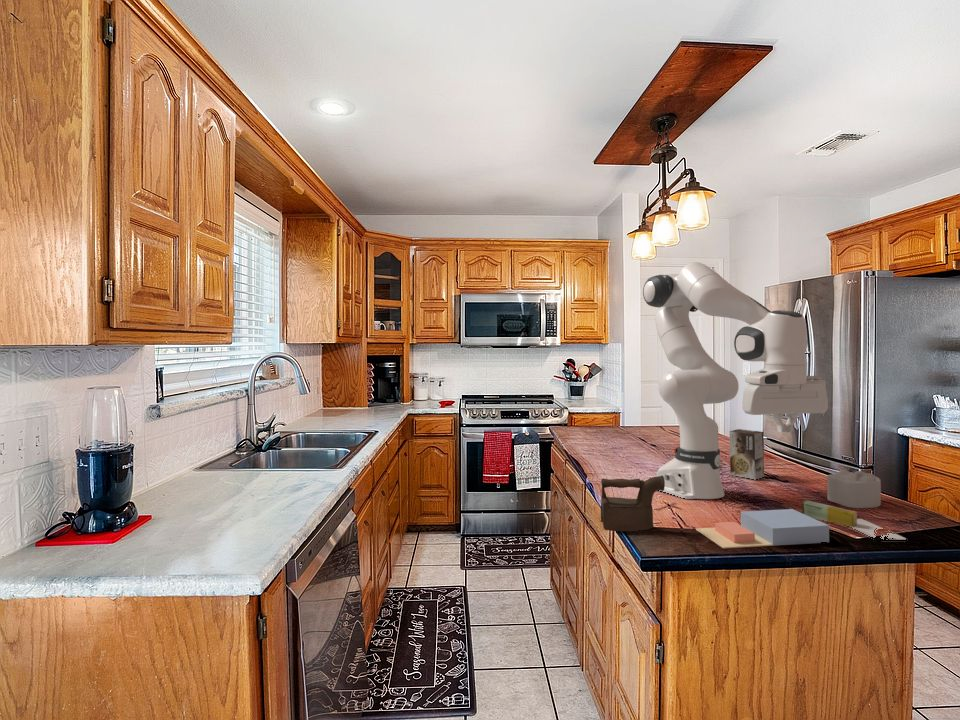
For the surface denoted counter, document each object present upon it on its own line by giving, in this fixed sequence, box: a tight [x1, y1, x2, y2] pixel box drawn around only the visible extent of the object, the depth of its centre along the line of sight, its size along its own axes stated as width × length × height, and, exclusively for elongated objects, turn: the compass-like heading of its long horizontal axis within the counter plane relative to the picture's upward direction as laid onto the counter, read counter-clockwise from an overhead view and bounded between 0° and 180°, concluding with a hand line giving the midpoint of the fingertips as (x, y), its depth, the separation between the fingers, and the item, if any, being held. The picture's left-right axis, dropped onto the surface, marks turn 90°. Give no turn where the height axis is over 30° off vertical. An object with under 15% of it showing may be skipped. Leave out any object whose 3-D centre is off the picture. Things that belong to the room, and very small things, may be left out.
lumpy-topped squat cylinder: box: [826, 469, 882, 509], centre depth 146 cm, size 10×13×9 cm
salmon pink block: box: [714, 521, 755, 543], centre depth 121 cm, size 5×8×2 cm, turn 6°
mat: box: [695, 526, 773, 549], centre depth 121 cm, size 12×12×1 cm
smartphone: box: [849, 517, 908, 540], centre depth 124 cm, size 7×1×15 cm
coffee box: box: [729, 428, 765, 481], centre depth 175 cm, size 9×6×16 cm
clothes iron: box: [600, 476, 665, 532], centre depth 129 cm, size 8×16×13 cm, turn 79°
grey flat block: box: [740, 508, 830, 547], centre depth 122 cm, size 14×12×4 cm
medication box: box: [801, 499, 858, 527], centre depth 131 cm, size 12×3×4 cm, turn 33°
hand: (784, 431), depth 124 cm, fingers closed
